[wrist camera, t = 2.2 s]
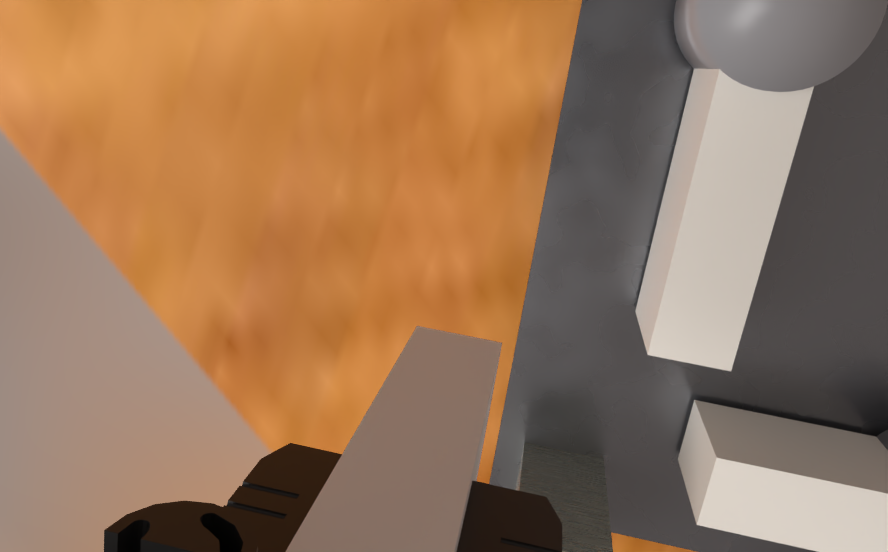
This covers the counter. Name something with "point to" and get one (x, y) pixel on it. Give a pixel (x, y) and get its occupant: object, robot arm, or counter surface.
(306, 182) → the counter surface
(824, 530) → the lever back
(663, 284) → the lever front
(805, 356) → the level base
